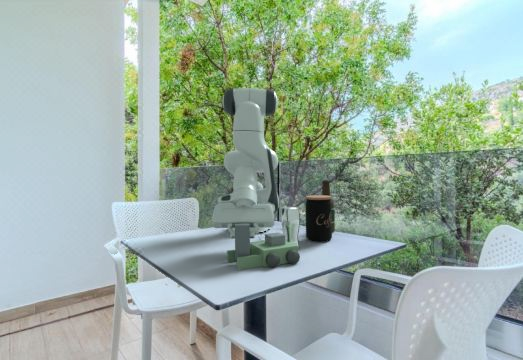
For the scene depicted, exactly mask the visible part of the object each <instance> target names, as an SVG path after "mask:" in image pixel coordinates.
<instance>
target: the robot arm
mask: <svg viewBox="0 0 523 360" xmlns="http://www.w3.org/2000/svg"><path fill="white" fill-rule="evenodd" d="M278 106H279V98H278V96H277V93H276V91H275V90H274V89H270V88H266V89H264V88H260V87H259V88H257V87H243V88H235V87H233V88H228V89H226V90H225V91H224V93H223V96H222V108H223V110H224V112H225V113H226V114H227V115H229V116H230V117H231V118H233V123H232V124H233V125H232V143H233V146H234V148H235V150H229V151H227V152H226V154H225V155H224V158H223V165H224V167H225V170H226V171H227V172H228V173H230V174H231V175H232V176H233V177H234V178H233V181H232V186H231V187H230V189H229V191H230V192H229V194H225V195H221V196H218V198H217V204H216V205H215V206H214V208H213V211H212V217H211V224H212V226H213V228H215V229H227V230H228V233H229V235H230V237H229V238H230V239H231V240H232V239H234V240H235V223H250V239H255V238H256V237H255V236H256V234H259V233H258V232H259V231H265V230H267V229H270V230H271V228H273V227H274V226H275V214H276V213H277V212H278V211H279V208H280V198H279V194H278V192H277V184H276V176H275V175H276V174H275V170H276V169H277V168H278V166H279V156H278V154H277V153H276V152H275V151H274V150H272V149H271V148H270V147H269V145H267V143H266V140H265V129H264V128H265V127H264V126H265V117H270V116H273V115H275V113H276V111H277V110H278ZM259 173H263V176H264V185H265V187H264V186H263V184H262V183H261V182H260V181H258V174H259Z"/></svg>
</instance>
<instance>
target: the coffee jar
mask: <svg viewBox="0 0 523 360" xmlns="http://www.w3.org/2000/svg"><path fill="white" fill-rule="evenodd" d="M331 198H332V195H331V196H326V195H322V194H321V195H320V194H319V195H315V194H313V195H306V196H305V200H306V201H305V237H306V239H307V241H310V242H314V243H327V242H330V241H331V239H333V238H332V237H333V232H332V203H331V201H330V200H331Z"/></svg>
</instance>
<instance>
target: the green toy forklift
mask: <svg viewBox="0 0 523 360" xmlns="http://www.w3.org/2000/svg"><path fill="white" fill-rule="evenodd" d="M298 249H299V248H298V246H297V245H294V244H292V243H289V242H287V241H285V235H284V234H282V233H280V232H274V233H273V232H272V233H264V240H257V241H250V256H244V257H237V258H235V249H230V250H229V249H228V250H226V262H227V263H232V262H236V270H238V271H243V270H247V269H248V270H249V269H253V268H259V267H263V268H266V267H271V268H277V267H278V266H280V265H284V264H291V265H296V264H298V263H299V262H300V258H301V255H300V253H299V250H298Z"/></svg>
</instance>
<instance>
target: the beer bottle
mask: <svg viewBox="0 0 523 360" xmlns="http://www.w3.org/2000/svg"><path fill="white" fill-rule="evenodd" d="M321 183H322V188H321V190H322V192H321V195H326V196H331V200H330V201H331V203H332V233H334V232H335V230H336V208H335V201H334V200H333V198H332V195H331V188H330V187H331V186H330V183H331V181H330V179H323V180H322V181H321Z"/></svg>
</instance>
